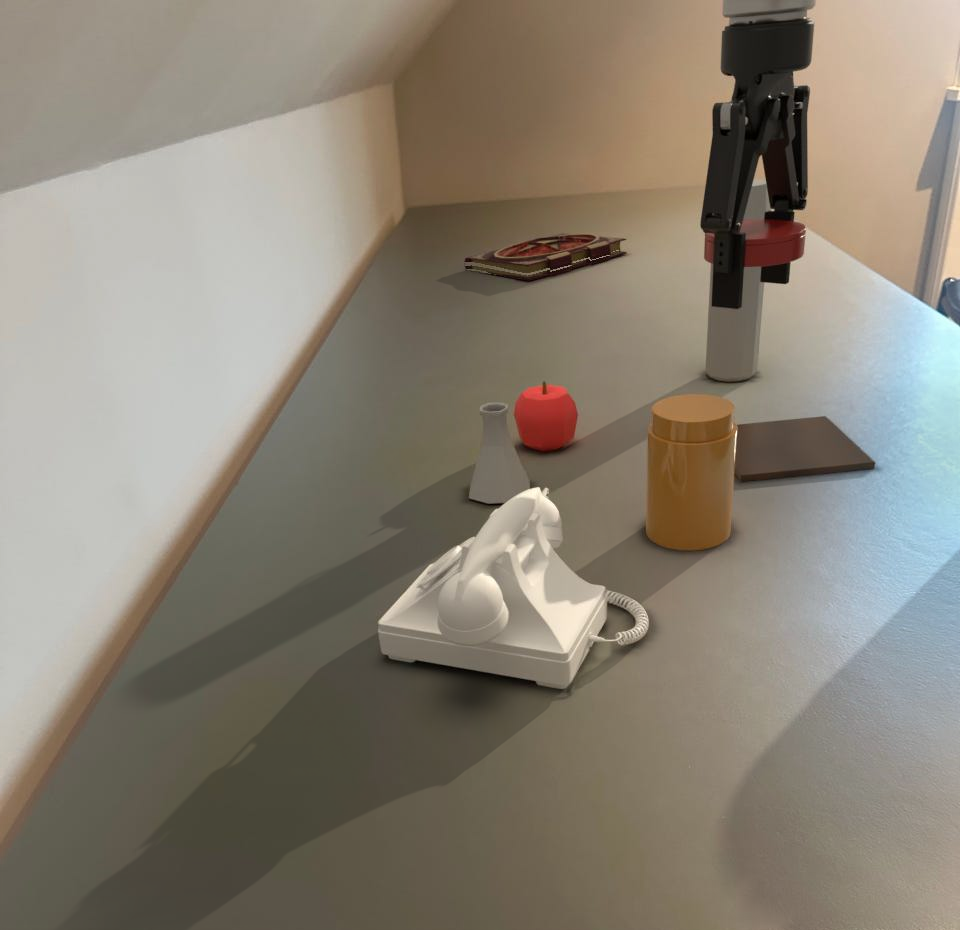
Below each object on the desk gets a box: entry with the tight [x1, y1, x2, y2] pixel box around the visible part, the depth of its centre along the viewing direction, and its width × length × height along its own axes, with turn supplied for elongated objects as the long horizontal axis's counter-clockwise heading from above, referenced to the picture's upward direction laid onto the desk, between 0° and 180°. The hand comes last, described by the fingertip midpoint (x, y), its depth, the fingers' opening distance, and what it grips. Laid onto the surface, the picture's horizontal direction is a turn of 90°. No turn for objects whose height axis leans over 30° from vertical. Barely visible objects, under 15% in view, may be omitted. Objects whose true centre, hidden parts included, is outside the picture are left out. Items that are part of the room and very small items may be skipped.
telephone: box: [377, 486, 650, 690], centre depth 82 cm, size 25×21×12 cm
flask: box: [468, 402, 531, 505], centre depth 107 cm, size 7×7×10 cm
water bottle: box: [705, 178, 772, 383], centre depth 131 cm, size 9×8×25 cm
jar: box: [645, 393, 738, 552], centre depth 95 cm, size 8×8×13 cm
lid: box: [703, 219, 807, 267], centre depth 91 cm, size 9×9×2 cm
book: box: [463, 232, 628, 282], centre depth 207 cm, size 28×21×5 cm
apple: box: [513, 380, 579, 453], centre depth 119 cm, size 8×8×8 cm
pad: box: [735, 415, 876, 483], centre depth 114 cm, size 15×15×1 cm
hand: (751, 294), depth 94 cm, fingers closed on lid, 9 cm apart
